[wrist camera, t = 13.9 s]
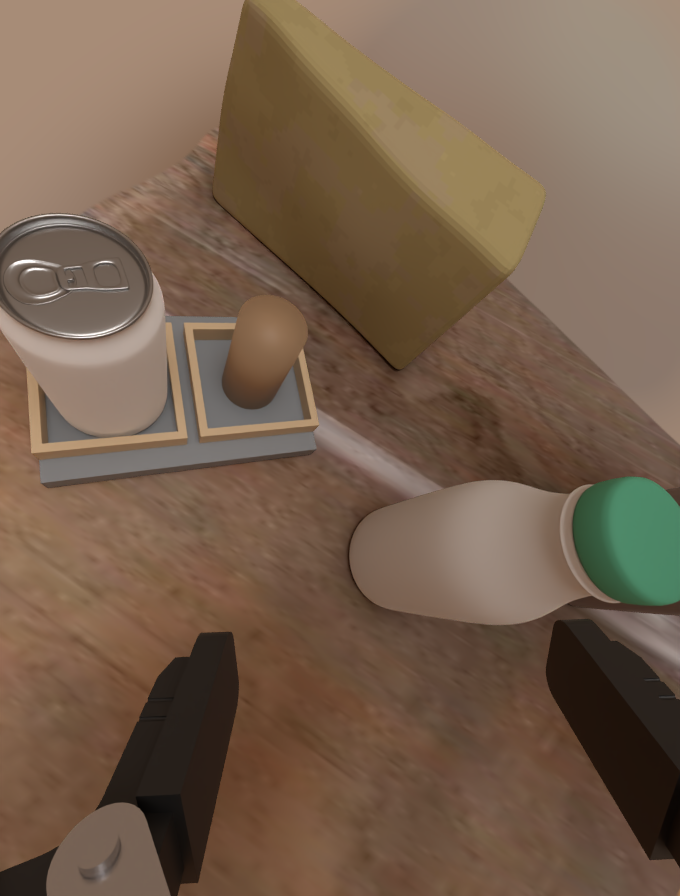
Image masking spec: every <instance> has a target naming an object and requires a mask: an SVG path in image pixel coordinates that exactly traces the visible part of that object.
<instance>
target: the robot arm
mask: <svg viewBox="0 0 680 896" xmlns="http://www.w3.org/2000/svg"><path fill="white" fill-rule="evenodd" d="M666 491H667V492H668V493H669V494H670V495H671V496H672V497H673V499H674V500H675V501H676V502H677V504H678V505H679V507H680V487H679V488H673V489H667V490H666ZM568 604H570V605H572V606H576V607H582V608H594V609H605V610H617V611H627V612H639V613H651V614H663V615H675V616H680V601H678V602H676V603H673V604H668V605H663V606H644V605H634V604H626V603H622V602H620V603H608V602H604V601H601V600H599V599H597V598H595V597H594V596H588V597H584V598H580V599H577V600H574V601H571V602H569V603H568ZM546 677H547V682H548V686H549V689H550V691H551V694H552V696H553V698H554V699H555V701H556V703H557V704H558V706H559V708H560V709H561V711H562V713H563V714H564V716H565V718H566V719H567V721H568V723H569V725H570V726H571V728H572V730H573V731H574V733H575V735H576V736H577V738H578V740H579V741H580V743H581V745H582V746H583V748H584V750H585V752H586V753H587V755H588V757H589V758H590V760H591V762H592V763H593V765H594V767H595V768H596V770H597V772H598V773H599V775H600V777H601V779H602V780H603V782H604V784H605V785H606V787H607V789H608V790H609V792H610V794H611V795H612V797H613V799H614V800H615V802H616V804H617V806H618V807H619V809H620V811H621V812H622V814H623V816H624V817H625V819H626V821H627V822H628V824H629V826H630V827H631V829H632V831H633V833H634V834H635V836H636V838H637V839H638V841H639V843H640V844H641V846H642V848H643V849H644V851H645V853H646V854H647V856H648V858H649V860H661V859H675V861H676V862H677V864H678V866H679V867H680V700H679V699H676V698H675V694H674V693H673V692H672V691H671V690H670V689H669V688H668V687H667V686H666V684H665V683H664V682H661V681H660V679H659V677H658V676H657V675H656V673H655V672H654V671H653V670H652V669H651V668H650V667H649V666H648V665H647V664H646V663H645V661H644V660H643V659H642V658H641V657H639V656H638V655H637V654H635V653H634V652H632V651H631V650H629V649H628V648H626V647H625V646H624V645H622V644H621V643H619V642H618V641H610V640H609V639H608V637H607V636H606V635H605V634H604V633H603V632H602V631H601V629H600V628H599V627H598V626H597V625H596V624H595V623H594V622H593V621H592V620H589V619H576V620H558V621H556V622H555V624H554V626H553V631H552V637H551V642H550V648H549V654H548V659H547V665H546ZM238 692H239V680H238V671H237V663H236V655H235V646H234V638H233V634H232V632H212V633H200V634H199V636H198V637H197V640H196V642H195V645H194V647H193V650H192V653H191V655H190V657H177V658H175V659H174V660H173V661H172V662H171V663H170V664H169V665H168V666H167V667H166V668H165V669H164V670H163V672H162V673H161V674H160V675H159V676H158V678H157V680H156V682H155V684H154V686H153V689H152V691H151V693H150V695H149V697H148V702H147V703H146V704H145V706H144V708H143V711H142V713H141V715H140V719H139V722H137V724H136V726H135V728H134V730H133V732H132V735H131V737H130V739H129V741H128V743H127V746H126V748H125V750H124V752H123V754H122V757H121V759H120V761H119V763H118V765H117V768H116V770H115V772H114V774H113V776H112V779H111V781H110V783H109V785H108V787H107V789H106V792H105V794H104V796H103V798H102V800H101V802H100V804H99V805H98V807H97V808H96V810H95V811H94V812H92V813H91V814H89V815H88V816H87V817H85V818H84V819H83V820H82V821H80V822H79V823H78V824H77V825H76V826H75V827H74V828H73V829H72V830H71V831H70V832H69V834H68V835H67V836H66V837H65V839H64V840H63V841H62V843H61V844H60V846H58V847H56V848H55V849H53V850H51V851H49V852H47V853H45V854H43V855H41V856H39V857H36V858H34V859H31V860H29V861H26V862H24V863H21V864H19V865H16V866H14V867H11V868H9V869H7V870H4V871H2V872H0V896H177V895H178V891H179V887H180V884H184V883H198V880H199V876H200V871H201V867H202V862H203V858H204V853H205V849H206V844H207V840H208V835H209V831H210V826H211V822H212V817H213V813H214V808H215V804H216V799H217V795H218V790H219V786H220V781H221V777H222V772H223V768H224V763H225V759H226V754H227V750H228V745H229V740H230V736H231V731H232V727H233V722H234V718H235V713H236V709H237V703H238Z"/></svg>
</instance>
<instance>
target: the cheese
mask: <svg viewBox="0 0 680 896" xmlns="http://www.w3.org/2000/svg"><path fill="white" fill-rule="evenodd" d="M212 191H213V196H214V198H215V199H216V201H217V202H218V203H219V204H220V205H221V206H222V207H223V208H224V209H225V210H226V211H228V212H229V213H230V214H231V215H232V216H233V217H234V218H235V219H237V220H238V221H239V222H240V223H241V224H242V225H243V226H244V227H246V228H247V229H248V230H249V231H250V232H251V233H252V234H253V235H254V236H256V237H257V238H258V239H259V240H260V241H261V242H262V243H263V244H264V245H266V246H267V247H268V248H269V249H270V250H271V251H272V252H273V253H275V254H276V255H277V256H278V257H279V258H280V259H281V260H282V261H284V262H285V263H286V264H287V265H288V266H289V267H290V268H291V269H293V270H294V271H295V272H296V273H297V274H298V275H299V276H300V277H301V278H303V279H304V280H305V281H306V282H307V283H308V284H309V285H310V286H311V287H312V288H314V289H315V290H316V291H317V292H318V293H319V294H320V295H321V296H322V297H323V298H324V299H325V300H327V301H328V302H329V303H330V304H331V305H332V306H333V307H334V308H335V309H336V310H337V311H338V312H339V313H340V314H341V315H342V316H343V317H344V318H345V319H346V320H347V321H349V322H350V323H351V324H352V325H353V326H354V327H355V328H356V329H357V330H358V331H359V332H360V333H361V334H362V335H363V336H364V337H365V338H366V339H367V340H368V341H369V342H370V343H371V345H372V346H373V347H374V348H375V349H376V350H377V351H378V352H379V353H380V354H381V355H382V356H383V357H384V358H385V359H386V360H387V361H388V362H389V363H390V364H391V365H392V366H393V367H394V368H396V369H398V370H399V369H403V368H404V367H405V366H406V365H408V364H409V363H410V362H411V361H412V360H413V359H415V358H416V357H417V356H418V355H419V354H420V353H422V352H423V351H424V350H425V349H426V348H427V347H429V346H430V345H431V344H432V343H433V342H435V341H436V340H437V339H438V338H439V337H440V336H441V335H443V334H444V333H445V332H446V331H447V330H448V329H450V328H451V327H452V326H453V325H454V324H455V323H456V322H457V321H459V320H460V319H461V318H462V317H463V316H464V315H465V314H467V313H468V312H469V311H470V310H471V309H472V308H473V307H474V306H476V305H477V304H478V303H479V302H480V301H481V300H482V299H483V298H485V297H486V296H487V295H488V294H489V293H490V292H491V291H492V290H494V289H495V288H496V287H497V286H498V285H499V284H500V283H502V282H503V281H504V280H505V279H506V278H507V277H508V276H509V275H510V274H511V273H512V272H513V271H514V270H515V268H516V267H517V265H518V264H519V262H520V260H521V258H522V256H523V254H524V252H525V249H526V247H527V244H528V242H529V240H530V237H531V235H532V232H533V230H534V227H535V225H536V223H537V220H538V218H539V216H540V213H541V211H542V208H543V205H544V201H545V196H546V192H545V189H544V187H543V186H542V185H541V184H540V183H539V182H538V181H536V180H535V179H534V178H532V177H531V176H529V175H528V174H527V173H525V172H524V171H523V170H521V169H520V168H518V167H517V166H516V165H514V164H513V163H511V162H510V161H509V160H508V159H506V158H505V157H504V156H502V155H501V154H500V153H498V152H497V151H496V150H494V149H493V148H492V147H491V146H489V145H488V144H487V143H485V142H484V141H483V140H482V139H480V138H479V137H478V136H476V135H475V134H474V133H473V132H471V131H470V130H469V129H467V128H466V127H465V126H463V125H462V124H461V123H459V122H458V121H456V120H455V119H454V118H452V117H451V116H449V115H448V114H447V113H445V112H444V111H442V110H441V109H439V108H438V107H436V106H435V105H434V104H432V103H431V102H429V101H428V100H426V99H425V98H423V97H422V96H421V95H419V94H418V93H416V92H415V91H413V90H412V89H410V88H409V87H408V86H406V85H405V84H404V83H402V82H401V81H399V80H398V79H397V78H395V77H394V76H392V75H391V74H390V73H388V72H387V71H385V70H384V69H383V68H382V67H380V66H379V65H377V64H376V63H374V62H373V61H372V60H371V59H369V58H368V57H367V56H365V55H364V54H363V53H361V52H360V51H359V50H357V49H356V48H355V47H354V46H352V45H351V44H350V43H348V42H347V41H346V40H344V39H343V38H342V37H341V36H339V35H338V34H337V33H336V32H334V31H333V30H332V29H331V28H329V27H328V26H327V25H326V24H325V23H323V22H322V21H321V20H320V19H318V18H317V17H316V16H315V15H314V14H312V13H311V12H310V11H309V10H307V9H306V8H305V7H303V6H302V5H301V4H300V3H298V2H297V1H296V0H245V2H244V4H243V8H242V12H241V17H240V22H239V26H238V31H237V35H236V40H235V44H234V49H233V54H232V58H231V62H230V67H229V71H228V76H227V81H226V86H225V91H224V96H223V103H222V109H221V117H220V125H219V135H218V144H217V153H216V162H215V171H214V179H213V188H212Z"/></svg>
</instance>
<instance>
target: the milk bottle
mask: <svg viewBox="0 0 680 896" xmlns="http://www.w3.org/2000/svg"><path fill="white" fill-rule="evenodd" d="M349 561H350V567H351V572H352V575H353V578H354V580H355V582H356V584H357V586H358V587H359V589H360V590H361V592H362V593H363V594H364V595H365V596H366V597H367V598H368V599H369V600H370V601H372V602H373V603H375V604H376V605H378V606H380V607H383V608H387V609H390V610H394V611H400V612H406V613H412V614H418V615H424V616H429V617H436V618H442V619H449V620H455V621H462V622H469V623H478V624H488V625H511V624H518V623H524V622H528V621H531V620H534V619H537V618H540V617H542V616H544V615H546V614H548V613H550V612H552V611H554V610H556V609H557V608H559V607H561V606H563V605H565V604H567V603H569V602H571V601H574V600H577V599H580V598H584V597H588V596H594V597H595V598H597V599H599V600H601V601H604V602H608V603H620V602H622V603H626V604H634V605H644V606H663V605H668V604H673V603H676V602H678V601H680V507H679V505H678V504H677V502H676V501H675V500H674V499H673V497H672V496H671V495H670V494H669V493H668V492H667V491H666V490H664V489H663V488H662V487H661V486H659V485H658V484H657V483H655V482H653V481H651V480H649V479H646V478H642V477H622V478H616V479H611V480H607V481H603V482H599V483H596V484H594V485H584V486H581V487H579V488H577V489H575V490H574V491H573V492H572V493H571V494H561V493H553V492H547V491H543V490H540V489H537V488H534V487H530V486H527V485H523V484H520V483H516V482H509V481H502V480H485V481H475V482H469V483H465V484H461V485H457V486H453V487H448V488H445V489H442V490H438V491H435V492H431V493H428V494H425V495H421V496H418V497H415V498H411V499H408V500H405V501H402V502H399V503H395V504H392V505H389V506H386V507H383V508H380V509H378V510H376V511H373V512H372V513H370V514H369V515H367V516H366V517H365V518H364V519H363V520H362V521H361V522H360V523H359V525H358V526H357V528H356V530H355V532H354V534H353V537H352V540H351V544H350V551H349Z"/></svg>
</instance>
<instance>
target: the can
mask: <svg viewBox="0 0 680 896" xmlns="http://www.w3.org/2000/svg"><path fill="white" fill-rule="evenodd" d="M0 329H1V331H2V332H3V334H4V336H5V337H6V338H7V340H8V341H9V343H10V344H11V346H12V347H13V349H14V350H15V351H16V353H17V354H18V356H19V357H20V358H21V360H22V361H23V363H24V364H25V366H26V367H27V368H28V370H29V371H30V373H31V374H32V375H33V377H34V378H35V380H36V381H37V382H38V384H39V385H40V386H41V388H42V389H43V391H44V392H45V393H46V395H47V396H48V398H49V399H50V400H51V402H52V403H53V404H54V406H55V407H56V408H57V410H58V411H59V412H60V414H61V415H62V416H63V417H64V419H65V420H66V421H67V422H68V423H69V424H71V425H72V426H73V427H75V428H76V429H78V430H80V431H82V432H84V433H86V434H89V435H92V436H96V437H101V438H110V437H121V436H131V435H134V434H136V433H139V432H141V431H143V430H144V429H146V428H148V427H149V426H150V425H151V424H153V423H154V422H155V421H156V420H157V418H158V417H159V416H160V414H161V413H162V411H163V409H164V406H165V403H166V399H167V352H166V322H165V307H164V299H163V295H162V291H161V288H160V286H159V283H158V281H157V279H156V278H155V276H154V274H153V273H152V271H151V268H150V266H149V263H148V261H147V259H146V258H145V256H144V254H143V253H142V251H141V250H140V249H139V248H138V247H137V245H136V244H135V243H134V242H133V241H132V240H130V239H129V238H128V237H127V236H126V235H124V234H123V233H122V232H120V231H119V230H117V229H115V228H114V227H112V226H110V225H108V224H106V223H103V222H101V221H98V220H96V219H93V218H89V217H85V216H81V215H75V214H67V213H49V214H41V215H36V216H31V217H28V218H25V219H23V220H20V221H18V222H16V223H14V224H12V225H10V226H9V227H7V228H6V229H4V230H3V231H2V232H1V233H0Z"/></svg>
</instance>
